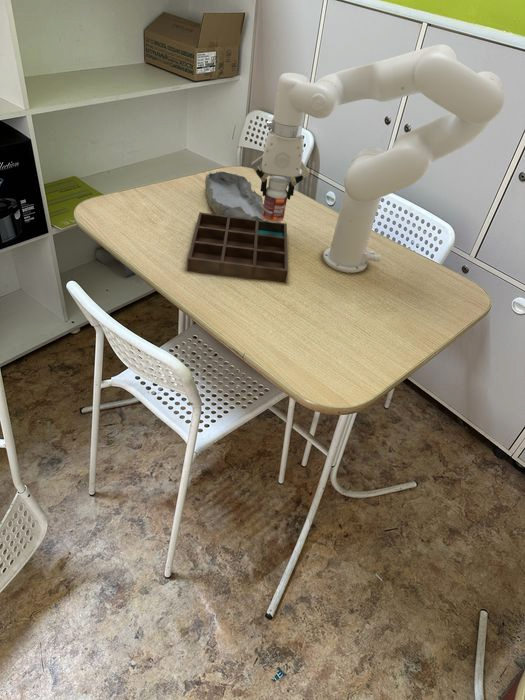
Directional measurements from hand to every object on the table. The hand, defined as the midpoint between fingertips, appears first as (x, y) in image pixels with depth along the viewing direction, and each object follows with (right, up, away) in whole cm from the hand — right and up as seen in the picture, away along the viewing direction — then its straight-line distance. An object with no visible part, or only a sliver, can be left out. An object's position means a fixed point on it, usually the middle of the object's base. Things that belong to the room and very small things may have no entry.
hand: (276, 195), depth 142 cm
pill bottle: (-1, -5, +5) cm, 7 cm away
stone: (-15, +3, +22) cm, 26 cm away
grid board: (-10, -15, +2) cm, 18 cm away
